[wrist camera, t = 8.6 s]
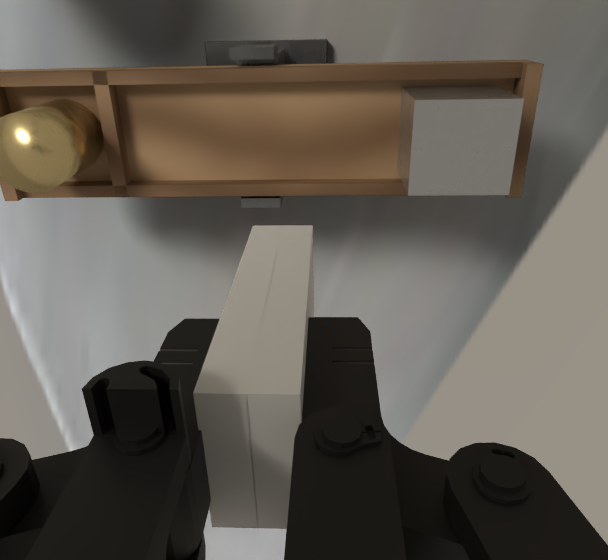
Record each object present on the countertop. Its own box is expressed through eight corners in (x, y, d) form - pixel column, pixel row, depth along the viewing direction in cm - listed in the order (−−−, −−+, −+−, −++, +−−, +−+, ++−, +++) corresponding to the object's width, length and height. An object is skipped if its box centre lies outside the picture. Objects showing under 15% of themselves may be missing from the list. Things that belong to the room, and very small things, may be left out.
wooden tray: (-2, 69, 31) (-31, 74, 28) (525, 59, 29) (543, 64, 27) (28, 187, 34) (5, 200, 31) (506, 183, 32) (520, 197, 30)
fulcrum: (207, 41, 36) (177, 48, 29) (326, 39, 35) (326, 45, 28) (219, 173, 40) (195, 208, 33) (326, 172, 39) (326, 207, 32)
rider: (401, 86, 29) (414, 100, 25) (494, 85, 29) (524, 98, 24) (396, 169, 31) (407, 195, 27) (483, 168, 31) (508, 195, 26)
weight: (27, 99, 30) (-25, 114, 26) (96, 98, 30) (55, 112, 26) (45, 168, 32) (-1, 193, 28) (109, 167, 32) (73, 192, 27)
